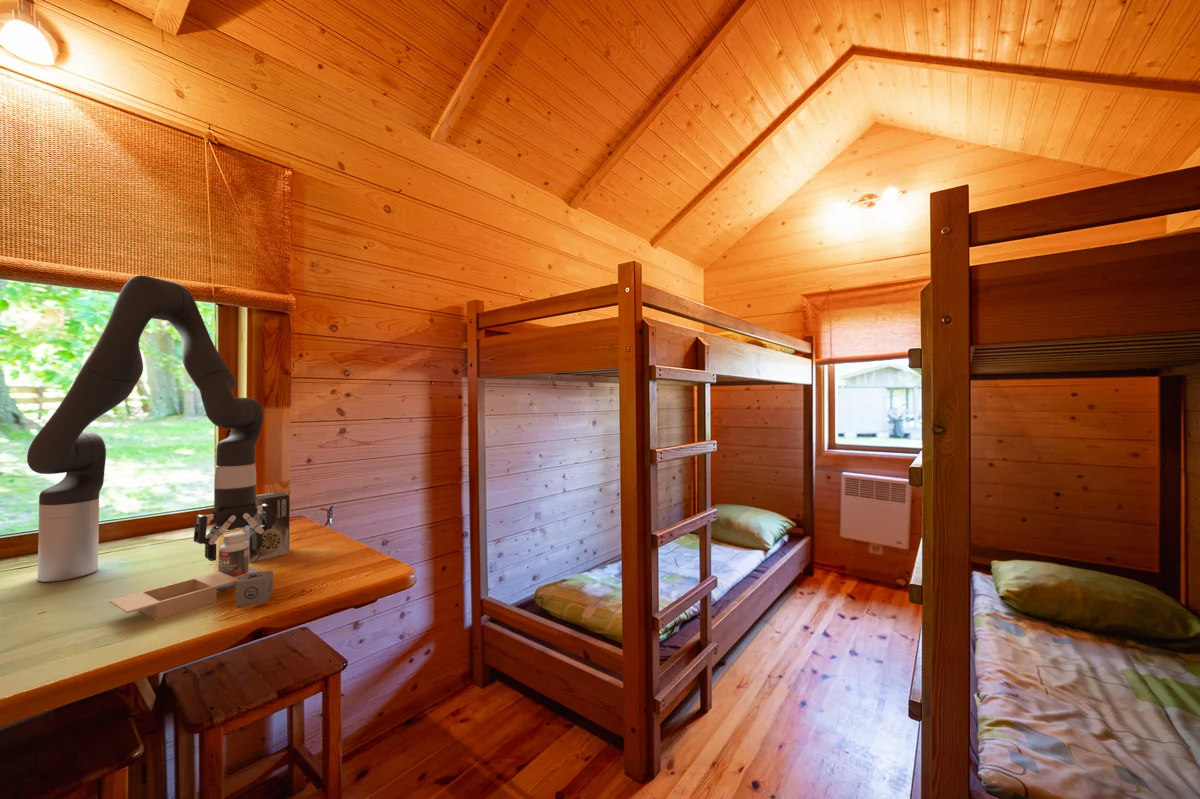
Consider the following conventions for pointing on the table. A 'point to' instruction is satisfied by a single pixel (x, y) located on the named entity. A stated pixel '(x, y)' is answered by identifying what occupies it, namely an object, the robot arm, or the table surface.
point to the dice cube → (254, 588)
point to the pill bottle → (234, 555)
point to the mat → (225, 587)
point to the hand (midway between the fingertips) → (234, 554)
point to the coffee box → (278, 534)
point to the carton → (175, 596)
